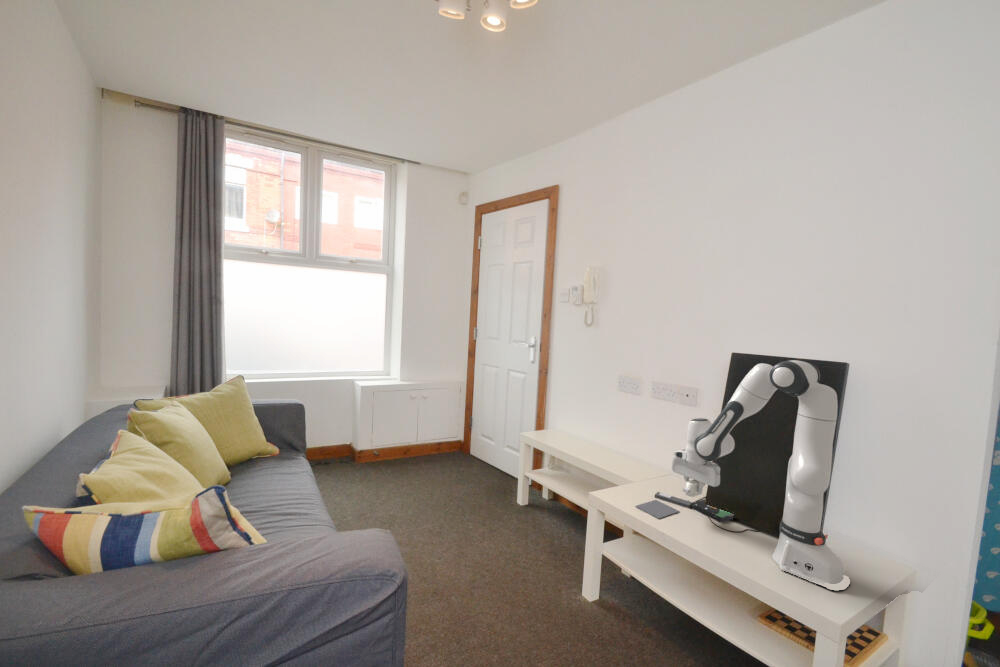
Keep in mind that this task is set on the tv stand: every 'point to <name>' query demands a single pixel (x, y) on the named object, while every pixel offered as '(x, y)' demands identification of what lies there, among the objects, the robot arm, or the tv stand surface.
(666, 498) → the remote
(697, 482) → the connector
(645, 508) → the mat
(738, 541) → the tv stand surface
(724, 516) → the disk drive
